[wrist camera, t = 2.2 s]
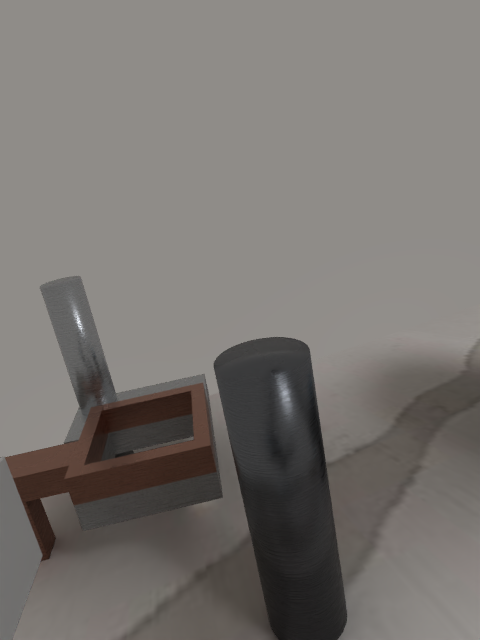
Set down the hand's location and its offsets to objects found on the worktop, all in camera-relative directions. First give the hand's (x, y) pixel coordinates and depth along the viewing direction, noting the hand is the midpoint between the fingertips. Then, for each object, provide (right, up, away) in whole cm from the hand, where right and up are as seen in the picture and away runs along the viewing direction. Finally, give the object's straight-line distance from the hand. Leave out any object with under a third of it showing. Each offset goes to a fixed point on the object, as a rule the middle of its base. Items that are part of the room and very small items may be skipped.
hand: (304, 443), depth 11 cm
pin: (+2, -14, +15) cm, 21 cm away
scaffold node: (-10, -12, +27) cm, 31 cm away
